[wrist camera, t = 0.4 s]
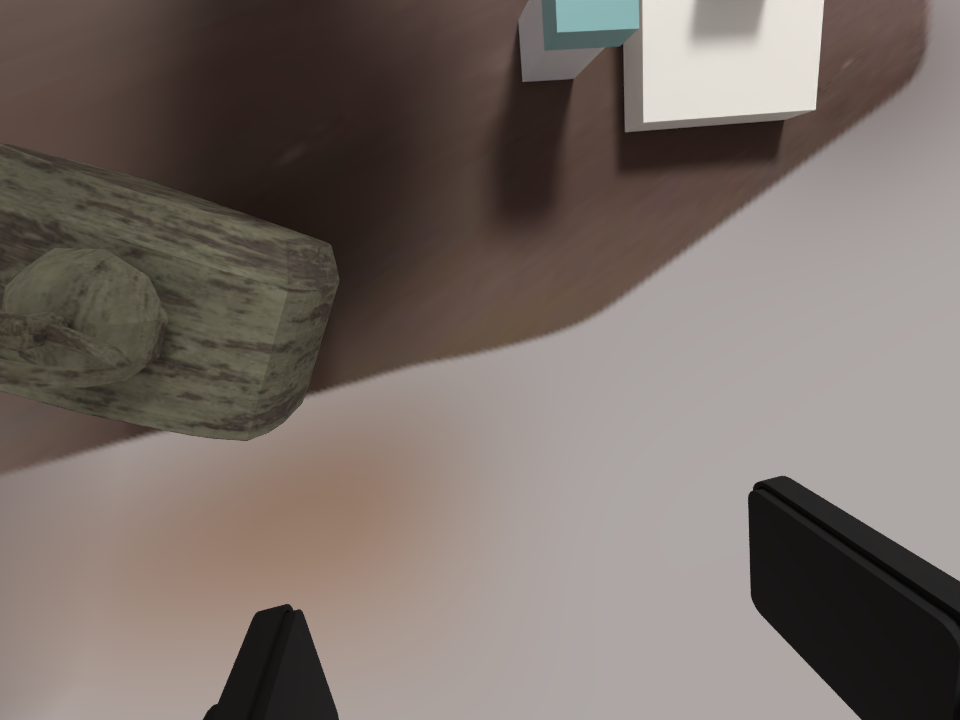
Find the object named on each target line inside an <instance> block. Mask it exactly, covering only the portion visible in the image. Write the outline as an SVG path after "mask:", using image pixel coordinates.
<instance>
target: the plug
mask: <svg viewBox="0 0 960 720" xmlns="http://www.w3.org/2000/svg"><path fill="white" fill-rule="evenodd" d="M518 24H519V39H520V53H521V68H522V82H531V81H547V80H564V79H574V78H575V77H576V76H577V75H578V74H579V73H580V72H581V71H582V70H583V69H584V68H585V67H586V66H587V65H588V64H589V63H590V62H591V61H592V60H593V59H594V58H595V57H596V56H597V55H598V54H599V53H600V52H601V51H602V50H603V49H604V48H605V47H620V46H621V45H622V44H623V43H624V42H625V41H626V40H627V39H628V38H629V37H630V36H631V35H633V34H634V33H635V32H636V31H637V30H638V29H639V0H528V2H527V4H526V6H525V8H524V10H523V12H522V14H521V16H520V18H519V20H518Z"/></svg>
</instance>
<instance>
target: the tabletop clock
mask: <svg viewBox="0 0 960 720" xmlns="http://www.w3.org/2000/svg"><path fill="white" fill-rule="evenodd" d="M339 281H340V278H339V274H338V270H337V266H336V262H335V258H334V254H333V250H332V246H331V245H330V244H329V243H327V242H324V241H321V240H319V239H316V238H313V237H311V236H308V235H305V234H302V233H299V232H297V231H294V230H291V229H288V228H285V227H282V226H279V225H277V224H274V223H271V222H268V221H265V220H262V219H259V218H257V217H254V216H251V215H248V214H245V213H242V212H239V211H237V210H234V209H231V208H228V207H225V206H222V205H219V204H216V203H213V202H210V201H208V200H205V199H202V198H199V197H196V196H193V195H190V194H187V193H184V192H181V191H179V190H176V189H173V188H170V187H167V186H164V185H161V184H158V183H154V182H151V181H148V180H145V179H141V178H138V177H135V176H131V175H128V174H124V173H120V172H117V171H113V170H109V169H106V168H102V167H98V166H94V165H90V164H87V163H83V162H79V161H75V160H71V159H67V158H63V157H59V156H55V155H51V154H47V153H43V152H39V151H35V150H31V149H27V148H23V147H18V146H14V145H9V144H2V143H0V391H3V392H6V393H10V394H14V395H17V396H21V397H25V398H28V399H32V400H36V401H39V402H43V403H46V404H50V405H54V406H57V407H61V408H65V409H68V410H72V411H76V412H79V413H84V414H88V415H93V416H98V417H103V418H108V419H112V420H117V421H122V422H127V423H132V424H136V425H141V426H146V427H151V428H156V429H160V430H165V431H170V432H176V433H181V434H186V435H191V436H198V437H206V438H213V439H226V440H241V441H248V440H250V439H253V438H255V437H258V436H261V435H263V434H266V433H268V432H270V431H272V430H273V429H275V428H276V427H278V426H279V425H281V424H282V423H283V422H284V421H285V420H286V419H287V418H288V417H289V416H290V415H291V414H292V413H293V412H294V411H295V410H296V409H297V408H298V407H299V406H300V405H301V404H302V402H303V399H304V397H305V394H306V392H307V390H308V387H309V384H310V380H311V377H312V374H313V370H314V367H315V363H316V360H317V356H318V353H319V350H320V346H321V343H322V339H323V336H324V333H325V329H326V326H327V322H328V319H329V316H330V312H331V309H332V305H333V302H334V299H335V295H336V292H337V288H338V285H339Z"/></svg>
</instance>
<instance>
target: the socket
mask: <svg viewBox="0 0 960 720" xmlns="http://www.w3.org/2000/svg"><path fill="white" fill-rule="evenodd" d="M823 6H824V0H639V29H638V30H637V31H636V32H635V33H634V34H633V35H631V36H630V37H629V38H628V39H627V40H626V41H625V42H624V43H623V58H624V112H625V132H635V131H647V130H660V129H673V128H686V127H699V126H712V125H725V124H738V123H751V122H764V121H777V120H786V119H789V118H792V117H795V116H798V115H801V114H804V113H807V112H810V111H813V110H816V97H817V84H818V71H819V58H820V45H821V32H822V19H823Z"/></svg>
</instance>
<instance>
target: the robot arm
mask: <svg viewBox="0 0 960 720" xmlns="http://www.w3.org/2000/svg"><path fill="white" fill-rule="evenodd" d="M748 509H749V545H750V581H751V597H752V601H753V603H754V605H755V607H756V609H757V610H758V611H759V613H760V614H761V615H762V616H763V617H764V618H765V619H766V620H767V621H768V622H769V623H770V624H771V626H772V627H773V628H774V629H775V630H776V631H777V632H778V633H779V634H780V635H781V636H782V637H783V638H784V639H785V640H786V641H787V642H788V643H789V644H790V645H791V646H792V647H793V649H794V650H795V651H796V652H797V653H798V654H799V655H800V656H801V657H802V658H803V659H804V660H805V661H806V662H807V663H808V664H809V665H810V666H811V667H812V668H813V669H814V670H815V672H816V673H817V674H818V675H819V676H820V677H821V678H822V679H823V680H824V681H825V682H826V683H827V684H828V685H829V686H830V687H831V688H832V689H833V690H834V691H835V692H836V693H837V694H838V696H839V697H841V699H842V700H843V701H844V702H845V703H846V704H847V705H848V706H849V707H850V708H851V709H852V710H853V711H854V712H855V713H856V714H857V715H858V716H859V717H860V718H861V720H960V581H958V580H956V579H955V578H953V577H951V576H950V575H948V574H947V573H945V572H943V571H942V570H940V569H938V568H937V567H935V566H933V565H932V564H930V563H929V562H927V561H925V560H924V559H922V558H920V557H919V556H917V555H915V554H914V553H912V552H910V551H909V550H907V549H906V548H904V547H902V546H901V545H899V544H897V543H896V542H894V541H892V540H891V539H889V538H887V537H886V536H884V535H882V534H881V533H879V532H878V531H876V530H874V529H873V528H871V527H869V526H868V525H866V524H865V523H863V522H861V521H860V520H858V519H856V518H855V517H853V516H851V515H849V514H848V513H846V512H845V511H843V510H842V509H840V508H838V507H837V506H835V505H833V504H832V503H830V502H828V501H827V500H825V499H823V498H822V497H820V496H819V495H817V494H815V493H814V492H812V491H810V490H809V489H807V488H805V487H804V486H802V485H800V484H799V483H797V482H795V481H794V480H792V479H791V478H788V477H786V476H779V477H775V478H771V479H767V480H764V481H760V482H757V483H756V484H755V485H754V487H753V491H751V492H750V494H749V496H748ZM203 720H339V718H338V713H337V710H336V707H335V704H334V701H333V698H332V695H331V692H330V689H329V686H328V684H327V681H326V678H325V675H324V672H323V669H322V667H321V663H320V660H319V658H318V655H317V652H316V649H315V646H314V643H313V640H312V637H311V634H310V631H309V628H308V625H307V623H306V620H305V617H304V614H303V612H302V611H301V610H295V611H293V608H292V607H291V606H290V605H289V604H285V605H281V606H278V607H274V608H270V609H266V610H262V611H258V612H257V613H256V614H255V615H254V617H253V619H252V622H251V624H250V626H249V629H248V631H247V634H246V636H245V639H244V641H243V644H242V646H241V648H240V651H239V654H238V656H237V658H236V661H235V663H234V665H233V668H232V670H231V673H230V675H229V678H228V680H227V683H226V685H225V687H224V690H223V692H222V695H221V697H220V700H219V702H218V704H216V705H213V706H212V707H211V708H210V710H208V711H207V713H206V715H205V717H204V719H203Z"/></svg>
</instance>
